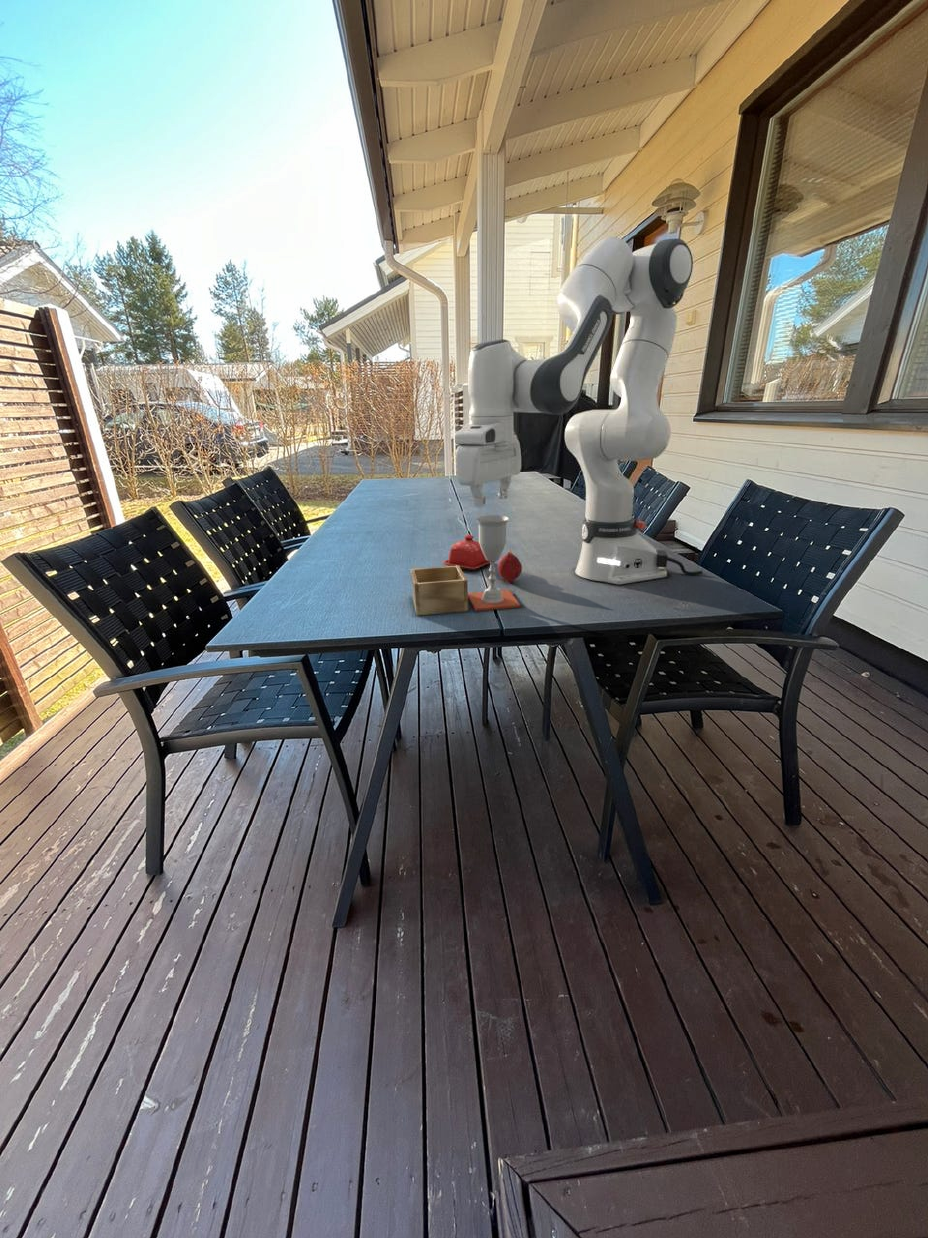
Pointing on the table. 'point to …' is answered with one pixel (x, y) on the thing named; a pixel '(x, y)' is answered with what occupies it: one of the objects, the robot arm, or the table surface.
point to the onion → (509, 567)
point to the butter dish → (466, 554)
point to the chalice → (492, 550)
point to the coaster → (481, 605)
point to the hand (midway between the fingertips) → (491, 502)
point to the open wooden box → (439, 590)
